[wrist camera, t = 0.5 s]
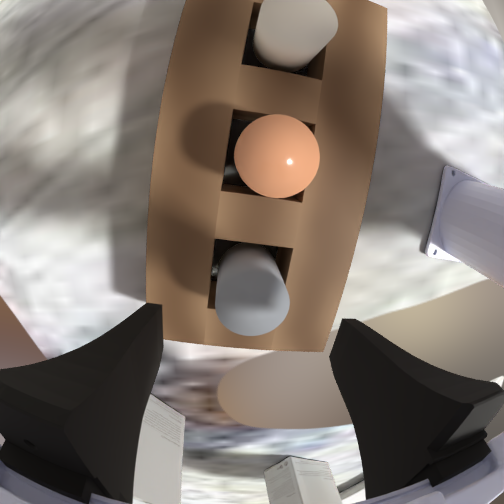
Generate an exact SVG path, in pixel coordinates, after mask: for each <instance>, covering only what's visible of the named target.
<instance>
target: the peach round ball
mask: <svg viewBox="0 0 504 504" xmlns="http://www.w3.org/2000/svg"><path fill="white" fill-rule="evenodd" d="M319 161H320V152H319V147H318V143H317V141H316V138H315V137H314V135H313V133H312V132H311V131H310V129H309V128H308V127H307V126H306V125H305V124H303V123H302V122H301V121H299V120H297V119H295V118H293V117H290V116H287V115H281V114H273V115H267V116H263V117H261V118H258V119H256V120H255V121H253V122H252V123H250V124H249V125H248V126H247V127H246V128H245V129H244V130H243V132H242V133H241V135H240V137H239V139H238V141H237V143H236V145H235V149H234V163H235V166H236V168H237V170H238V172H239V175H240V177H241V178H242V180H243V181H244V182H245V183H246V185H247V186H249V187H250V188H251V189H252V190H254V191H255V192H257V193H259V194H261V195H263V196H266V197H271V198H285V197H289V196H293V195H295V194H297V193H299V192H301V191H302V190H304V189H305V188H306V187H307V186H308V185H309V184H310V183H311V182H312V180H313V179H314V177H315V175H316V173H317V170H318V167H319Z"/></svg>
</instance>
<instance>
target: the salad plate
mask: <svg viewBox="0 0 504 504" xmlns="http://www.w3.org/2000/svg"><path fill="white" fill-rule="evenodd" d="M339 495H340V498H341V500H342V503H343V504H352V503H356V502H360V501H364V500H366V497H365V483H364V481H362V482H360V483H358V484H356V485H354V486H352V487H350V488H348V489H346V490H344V491H342V492H340V493H339Z"/></svg>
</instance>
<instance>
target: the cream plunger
mask: <svg viewBox="0 0 504 504" xmlns="http://www.w3.org/2000/svg"><path fill="white" fill-rule="evenodd" d="M337 29H338V19H337V16H336V13H335V11H334V10H333V8H332V7H331V5H330V4H329V3H328V2H327V1H326V0H264V1H263V3H262V5H261V8H260V12H259V17H258V21H257V25H256V30H255V34H254V38H253V51H254V54H255V56H256V57H257V59H258V60H259V61H260V62H261V63H262V64H263V65H264V66H266V67H267V68H269V69H273V70H278V71H283V72H295V71H298V70H300V69H302V68H304V67H305V66H306V65H307V64H308V63H309V62H310V61H311V60H312V59H313V58H314V57H315V56H316V55H317V54H318V53H319V52H320V51H321V50H322V48H323V47H324V46H325V45H326V44H327V43H328V42H329V41H330V40H331V39H332V38H333V37H334V36H335V34H336V32H337Z"/></svg>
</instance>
